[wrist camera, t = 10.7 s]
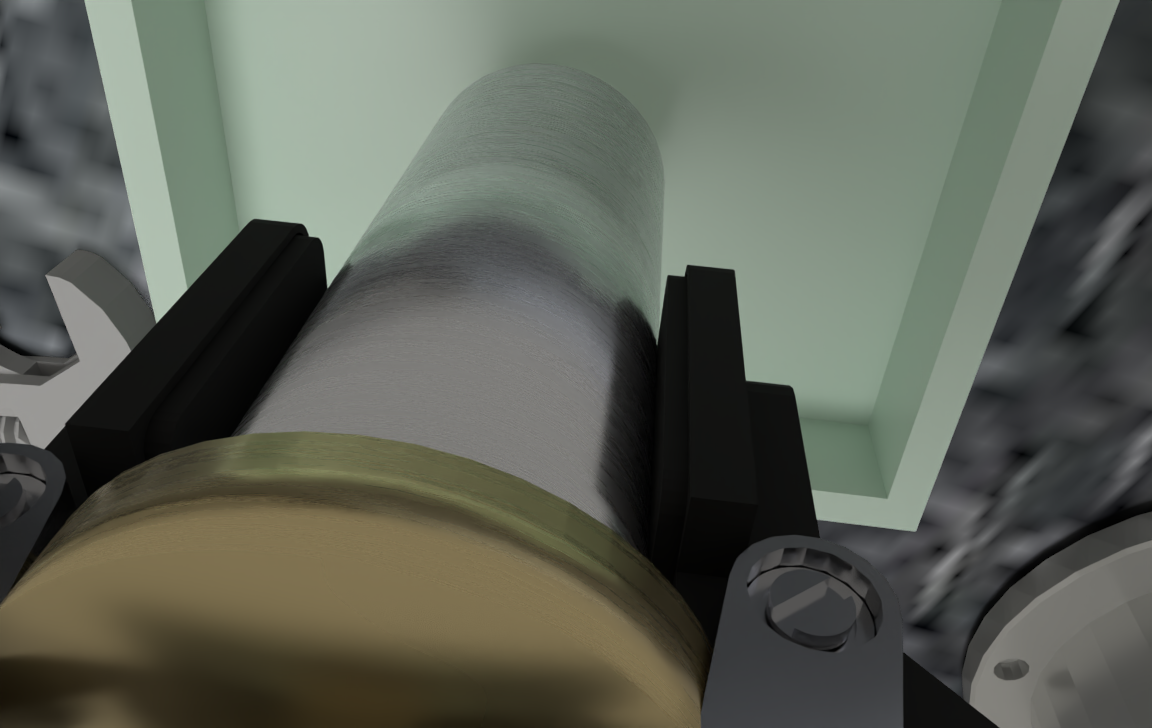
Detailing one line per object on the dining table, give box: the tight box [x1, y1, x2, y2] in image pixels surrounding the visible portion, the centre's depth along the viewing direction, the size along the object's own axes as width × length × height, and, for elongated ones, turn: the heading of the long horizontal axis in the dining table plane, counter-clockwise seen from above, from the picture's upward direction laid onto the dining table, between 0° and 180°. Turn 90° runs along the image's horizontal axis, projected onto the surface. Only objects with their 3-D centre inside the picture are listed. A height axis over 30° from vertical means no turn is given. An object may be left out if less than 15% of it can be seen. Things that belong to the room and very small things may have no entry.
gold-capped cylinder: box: [0, 63, 713, 728], centre depth 11 cm, size 5×5×11 cm
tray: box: [85, 0, 1120, 532], centre depth 17 cm, size 16×14×3 cm
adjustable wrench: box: [0, 250, 156, 449], centre depth 28 cm, size 25×6×2 cm, turn 155°
